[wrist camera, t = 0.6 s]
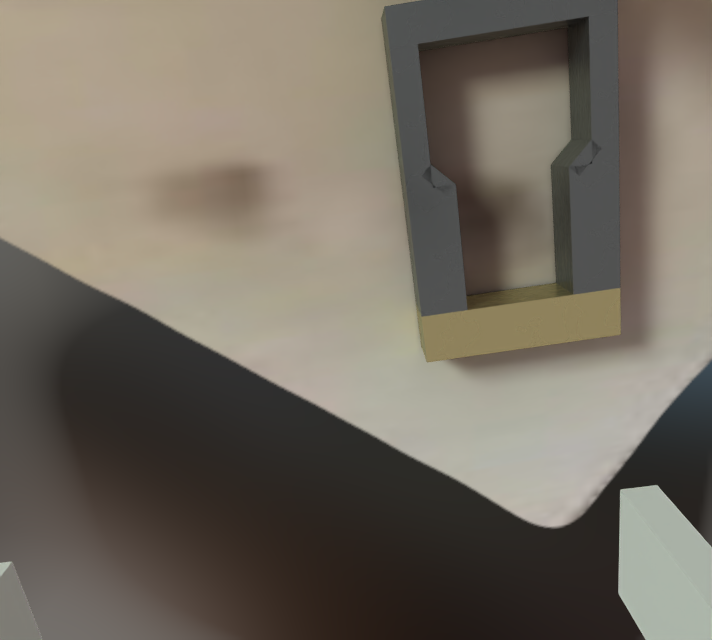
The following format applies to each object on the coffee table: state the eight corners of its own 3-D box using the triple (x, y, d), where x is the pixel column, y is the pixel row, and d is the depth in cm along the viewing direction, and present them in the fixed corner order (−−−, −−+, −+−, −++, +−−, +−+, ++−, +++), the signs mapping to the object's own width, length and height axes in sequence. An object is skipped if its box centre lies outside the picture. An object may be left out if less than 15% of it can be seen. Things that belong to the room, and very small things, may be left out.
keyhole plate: (381, 18, 32) (384, 6, 29) (593, -17, 32) (617, -32, 29) (421, 345, 38) (427, 362, 35) (600, 320, 38) (620, 334, 35)
